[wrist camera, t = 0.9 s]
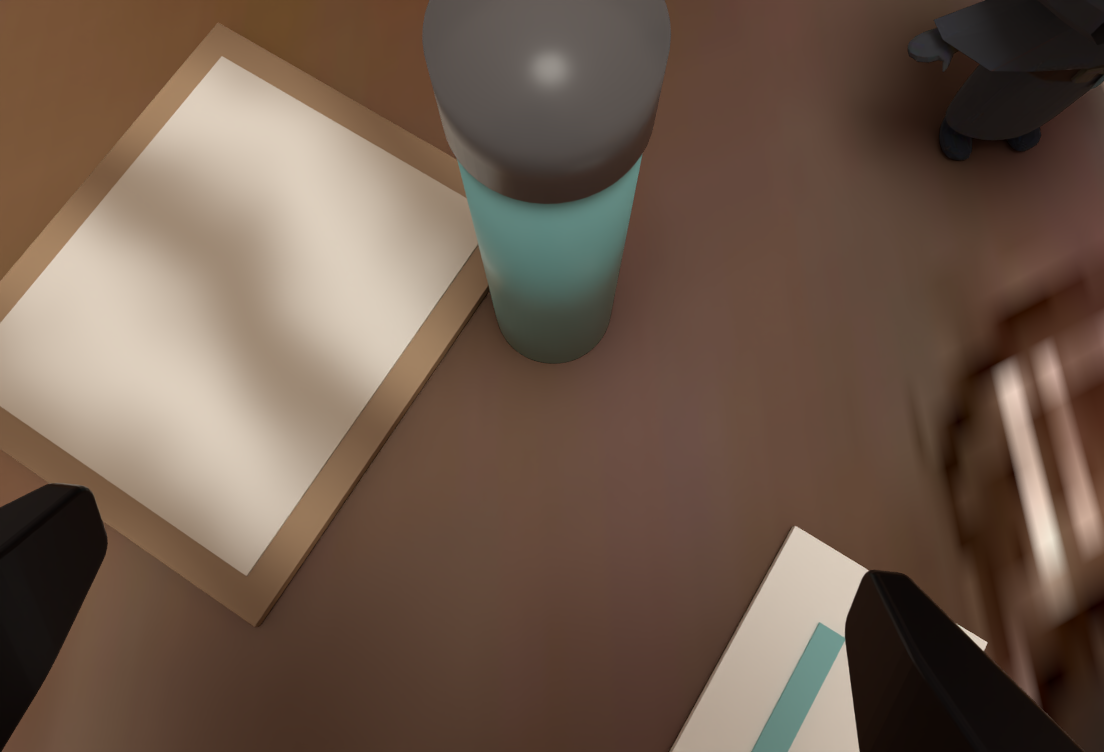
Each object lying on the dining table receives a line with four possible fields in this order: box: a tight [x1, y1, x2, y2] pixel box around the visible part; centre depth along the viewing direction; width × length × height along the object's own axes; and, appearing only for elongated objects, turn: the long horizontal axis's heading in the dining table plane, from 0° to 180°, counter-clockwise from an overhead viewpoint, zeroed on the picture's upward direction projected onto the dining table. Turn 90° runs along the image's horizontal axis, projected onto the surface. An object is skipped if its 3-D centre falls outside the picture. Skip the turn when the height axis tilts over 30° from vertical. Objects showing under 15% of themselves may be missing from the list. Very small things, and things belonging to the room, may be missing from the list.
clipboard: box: [0, 23, 490, 627], centre depth 25 cm, size 15×13×1 cm
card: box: [669, 526, 987, 752], centre depth 22 cm, size 8×6×1 cm
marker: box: [423, 0, 671, 363], centre depth 18 cm, size 4×4×13 cm
